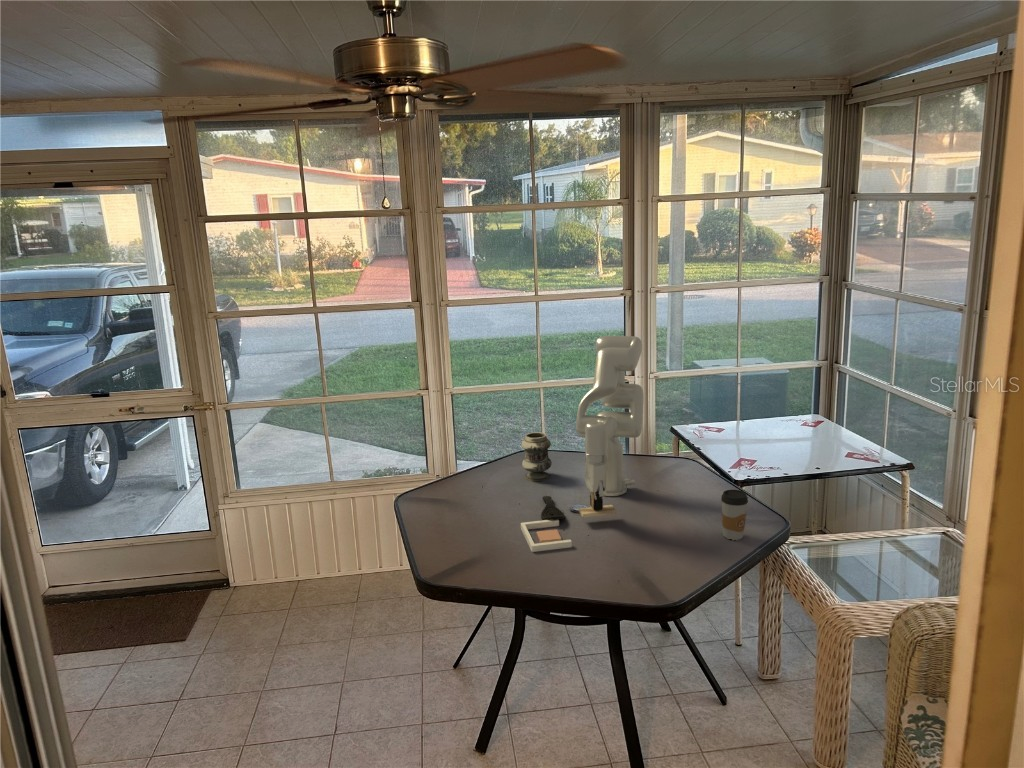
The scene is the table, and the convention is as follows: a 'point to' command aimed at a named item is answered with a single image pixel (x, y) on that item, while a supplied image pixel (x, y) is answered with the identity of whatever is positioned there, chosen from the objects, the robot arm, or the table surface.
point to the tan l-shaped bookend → (591, 512)
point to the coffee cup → (734, 513)
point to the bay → (547, 544)
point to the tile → (548, 536)
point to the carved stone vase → (536, 456)
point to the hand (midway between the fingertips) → (596, 507)
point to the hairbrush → (551, 510)
